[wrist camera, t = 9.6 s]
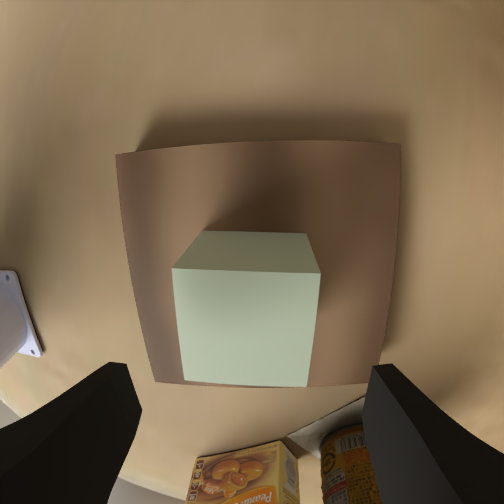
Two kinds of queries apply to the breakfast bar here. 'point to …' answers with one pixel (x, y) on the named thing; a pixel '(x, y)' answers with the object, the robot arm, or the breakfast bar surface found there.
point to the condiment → (341, 456)
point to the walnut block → (269, 220)
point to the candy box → (246, 477)
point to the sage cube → (247, 308)
